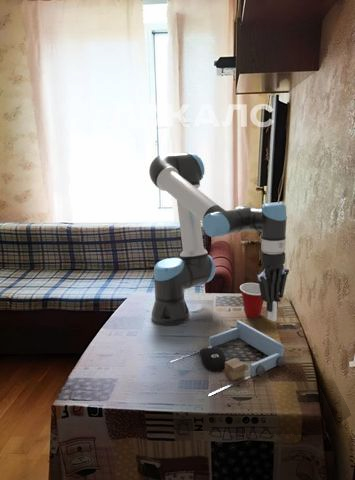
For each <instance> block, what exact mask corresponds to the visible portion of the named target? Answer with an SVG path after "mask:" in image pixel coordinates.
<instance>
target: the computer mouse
mask: <svg viewBox="0 0 355 480" xmlns="http://www.w3.org/2000/svg"><path fill="white" fill-rule="evenodd" d="M208 347H209V348H207V347H205V348H204V347H203V348H201V349H199V350H200V352H199V358H200V360H201V362H202V365H203V366H204V367H205V368H206V369H207V370H208V371H209V372H211V373H221V372H224V371H225V362H226V361H227V360H226V353H225V351H224V350H223V349H222V348H221V347H219V346H215V347H212V346H210V345H209V346H208Z"/></svg>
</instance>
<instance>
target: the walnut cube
mask: <svg viewBox="0 0 355 480" xmlns="http://www.w3.org/2000/svg"><path fill="white" fill-rule="evenodd" d="M224 374H225V375H226V376H227V377H228V378H230V379H231V380H232V381H235V380H238V379H240V378H242V377H244V376H245V363H244V362H242V361H240V360H239V359H238V358H236V357H233V358H231V359H229V360H226V362H225V369H224Z"/></svg>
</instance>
